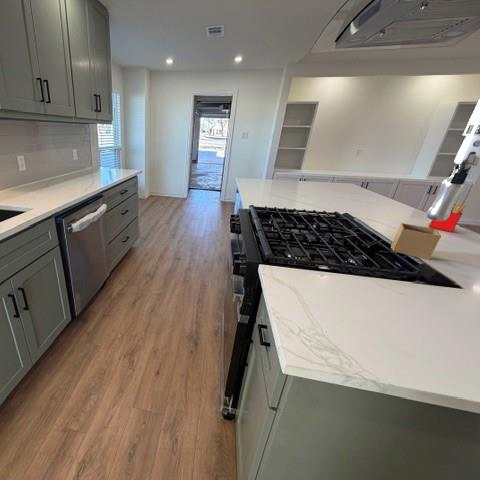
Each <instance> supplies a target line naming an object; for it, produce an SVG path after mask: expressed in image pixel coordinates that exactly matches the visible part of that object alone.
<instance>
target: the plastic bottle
mask: <svg viewBox="0 0 480 480" xmlns="http://www.w3.org/2000/svg"><path fill="white" fill-rule="evenodd" d="M457 170H458V169H454V171H453V173H452V176H450V177H449V176H447V177H446V178H445V179H444V180H443V181H442V182H441V185H440V187H439V191H438V193H437V196H436V198H435V200H434V201H433V203H432V205H431V206H430V207H429V208H428V210H427V211H426V214H425V216H426V218H428V219H429V220H431V221H432V220H435V221H445V220H447V219H448V217H449V216H450V213H451V209H452V207H453V205H454V204H455V202H456V201H457V199H458V197H460V194H461V193H462V192H463V190H464V189H465V187H467V181H466V179H465V181H464V183H463V184H462V185H460V184H451V183H450V182H451V180H452V178H453V176H454V174H455V172H456V173H457Z"/></svg>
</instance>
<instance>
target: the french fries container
mask: <svg viewBox="0 0 480 480" xmlns="http://www.w3.org/2000/svg"><path fill="white" fill-rule="evenodd" d="M460 206H461V205H460V204H456V203H454V205H453V207H452V209H451V213H450V216H449V217H448V219H447V220H445V221H435V220H432V219H431V221H430V223H429V224H428V228H433V229H437V230H439V231H443V232H449V233H453V232H454V230H455V228H456V227H457V225H458V223H459V221H460V219H461V218H462V215H463V214H464V213H463V211H464V210H465V208H466V205H462V206H461V207H460ZM459 208H460V209H459ZM458 210H459V211H458Z"/></svg>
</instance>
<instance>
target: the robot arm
mask: <svg viewBox="0 0 480 480" xmlns="http://www.w3.org/2000/svg"><path fill="white" fill-rule="evenodd" d="M462 136H463V137H465V138H464V139H463V141H462V143H461V145H460V147H459V149H458V151H457V153H456V156H455V157H454V160H453V163H454V166H453V167H452V168H451V170H450V172H449V175H448V177H450V176H452V173H453V171H454V169H458V170H457V173H456V172H455V174H454V176H453V178H452V180H451V182H450V183H451V184H460V185H462V184H463V183H464V181H465V180H466V179H467V177H468V175H469V173H470V171H471V168H472V166H474V167H477V166H478V165H479V164H480V98H479V99H478V101H477V103H476V106H475V108H474V110H473V112H472V114H471V116H470V118H469V120H468V123H467V125H466V126H465V128H464V131H463V132H462Z"/></svg>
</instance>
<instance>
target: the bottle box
mask: <svg viewBox="0 0 480 480" xmlns="http://www.w3.org/2000/svg"><path fill="white" fill-rule="evenodd" d="M441 238H442V235H441V233H440V232H439V231H438V229H435V228H430V227H426V226H421V225H416V224H409V223H404V222H400V224H399V226H398V229H397V230H396V233H395V235H394V237H393V240H392V242H391V245H390V246H391V247H390V249H391V251H392V252H394V253H398V254H403V255H407V256H410V257H411V256H412V257H414V258H415V257H416V258H419V259H425V260H430V259H431V257H432V255H433V253H434V251H435V250H436V247H437V245H438V243H439V241H440V239H441Z"/></svg>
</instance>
